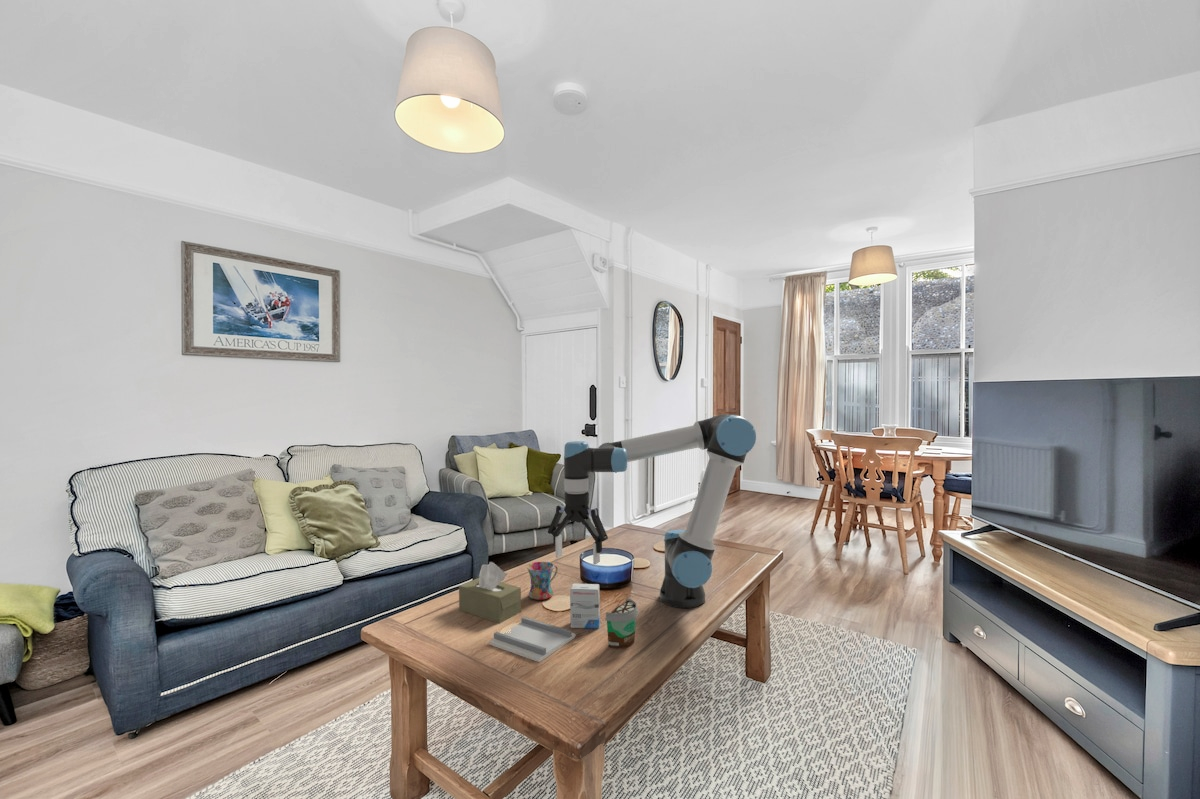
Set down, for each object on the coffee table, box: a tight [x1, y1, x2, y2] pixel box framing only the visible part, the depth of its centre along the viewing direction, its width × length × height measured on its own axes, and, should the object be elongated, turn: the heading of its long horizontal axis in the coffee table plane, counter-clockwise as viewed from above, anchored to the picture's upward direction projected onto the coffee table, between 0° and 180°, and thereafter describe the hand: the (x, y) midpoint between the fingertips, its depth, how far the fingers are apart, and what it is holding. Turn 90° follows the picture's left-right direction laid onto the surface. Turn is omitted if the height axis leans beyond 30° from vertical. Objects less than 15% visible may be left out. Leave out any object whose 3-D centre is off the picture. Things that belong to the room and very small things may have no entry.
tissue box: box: [458, 561, 522, 624], centre depth 164 cm, size 19×10×16 cm, turn 57°
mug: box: [526, 561, 559, 601], centre depth 176 cm, size 12×9×11 cm
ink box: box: [569, 583, 601, 629], centre depth 153 cm, size 8×5×12 cm, turn 84°
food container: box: [605, 597, 640, 649], centre depth 142 cm, size 12×6×10 cm, turn 148°
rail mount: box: [488, 616, 576, 663], centre depth 144 cm, size 18×16×2 cm
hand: (577, 559), depth 158 cm, fingers open, 13 cm apart
